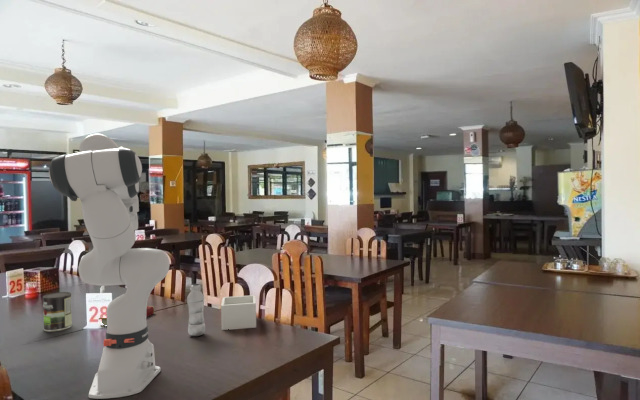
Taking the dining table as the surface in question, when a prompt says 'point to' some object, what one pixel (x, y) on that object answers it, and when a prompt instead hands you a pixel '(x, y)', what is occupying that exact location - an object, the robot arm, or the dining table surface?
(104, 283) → the robot arm
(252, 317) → the bin
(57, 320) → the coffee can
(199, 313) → the plastic bottle
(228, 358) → the dining table surface
